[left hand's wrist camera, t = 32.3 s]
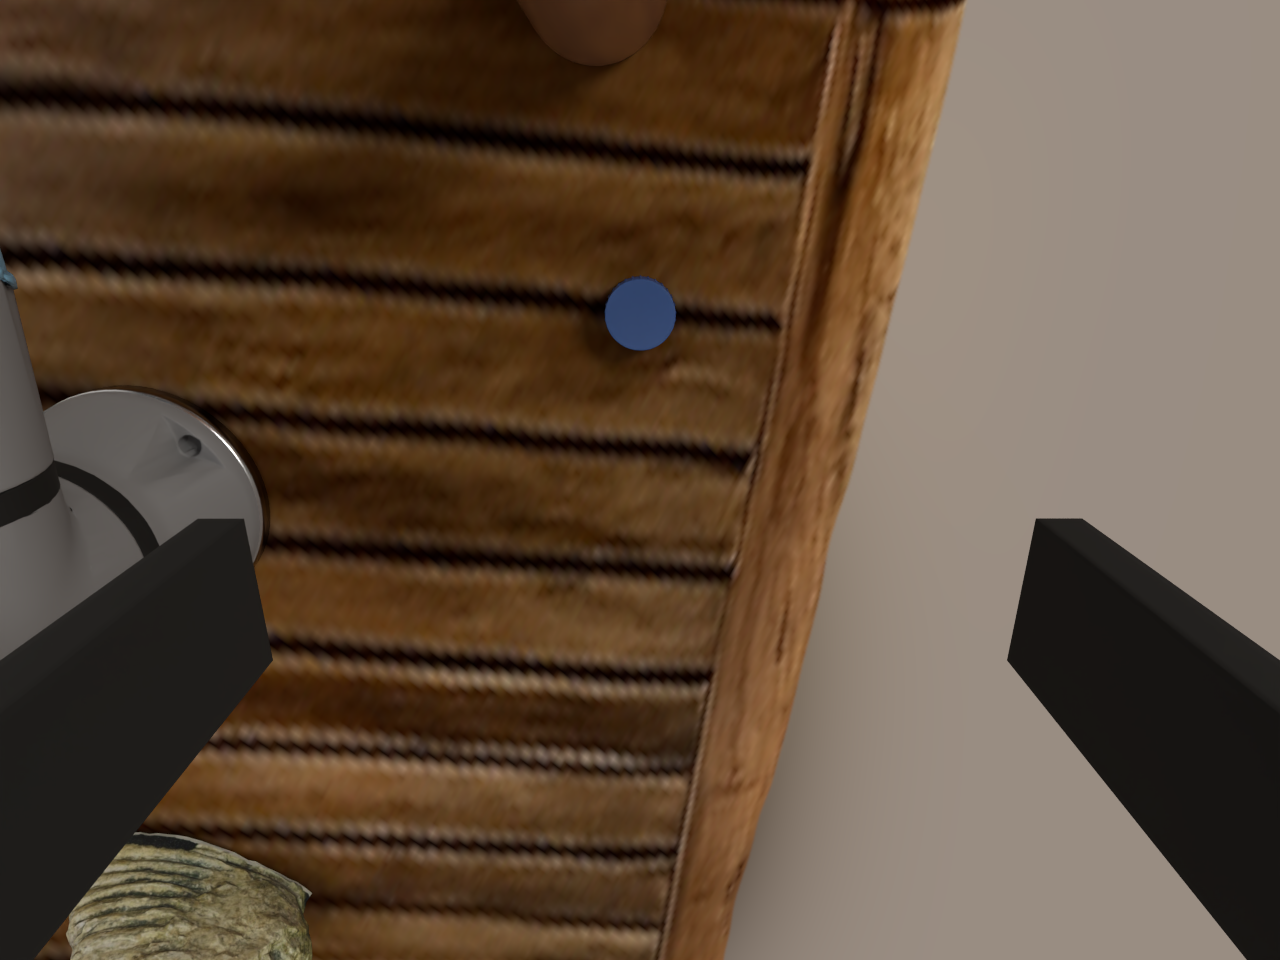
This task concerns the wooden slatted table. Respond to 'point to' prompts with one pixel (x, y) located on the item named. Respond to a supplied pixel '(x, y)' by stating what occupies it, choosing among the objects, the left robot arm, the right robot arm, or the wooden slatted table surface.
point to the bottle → (594, 27)
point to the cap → (640, 313)
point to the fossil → (189, 906)
